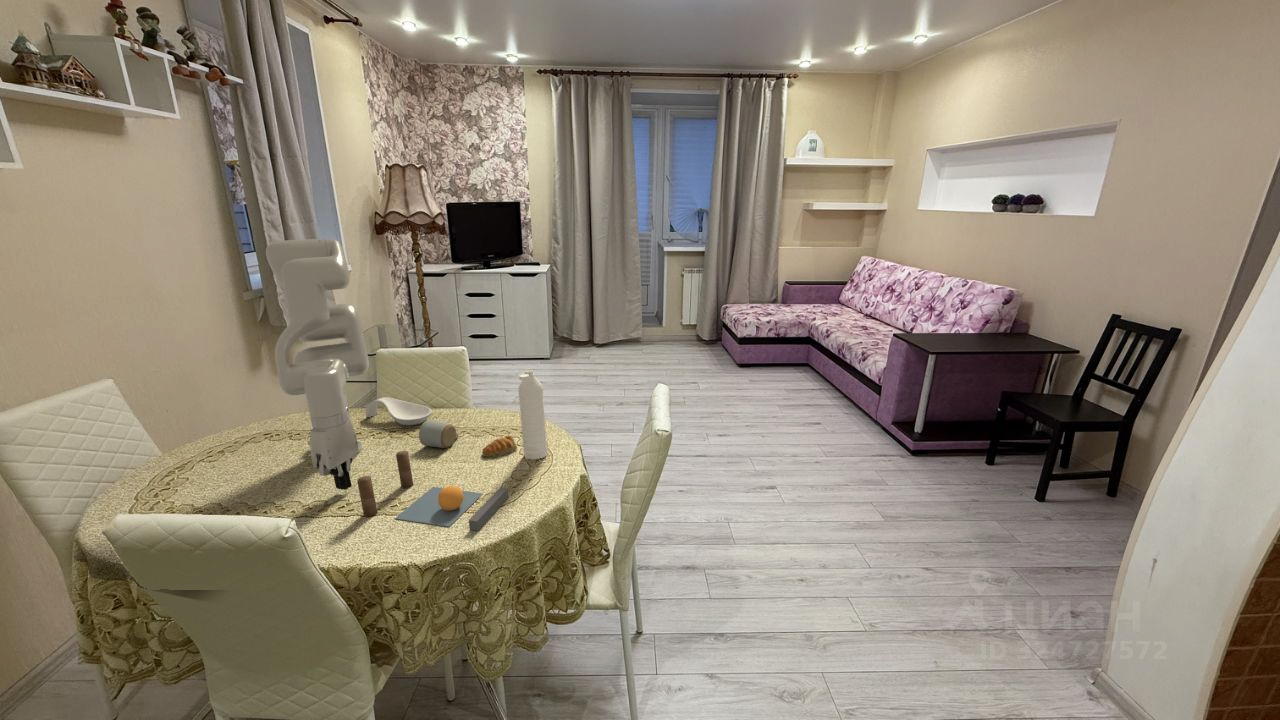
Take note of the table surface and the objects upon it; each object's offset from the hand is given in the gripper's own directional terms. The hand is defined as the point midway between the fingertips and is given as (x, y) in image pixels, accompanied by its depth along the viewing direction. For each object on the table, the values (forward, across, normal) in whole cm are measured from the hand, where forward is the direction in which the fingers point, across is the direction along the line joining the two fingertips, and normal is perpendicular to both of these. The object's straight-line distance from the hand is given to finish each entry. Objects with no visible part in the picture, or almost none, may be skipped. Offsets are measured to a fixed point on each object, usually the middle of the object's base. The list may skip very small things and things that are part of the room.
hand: (343, 487), depth 130 cm
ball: (-1, 0, +30) cm, 30 cm away
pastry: (+2, -29, +27) cm, 40 cm away
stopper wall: (+2, 0, +40) cm, 40 cm away
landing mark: (+2, 0, +27) cm, 27 cm away
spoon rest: (+2, -43, -18) cm, 46 cm away
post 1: (+2, +6, +13) cm, 15 cm away
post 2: (+2, -6, +13) cm, 15 cm away
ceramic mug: (+2, -30, +7) cm, 31 cm away
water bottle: (+2, -28, +38) cm, 47 cm away
